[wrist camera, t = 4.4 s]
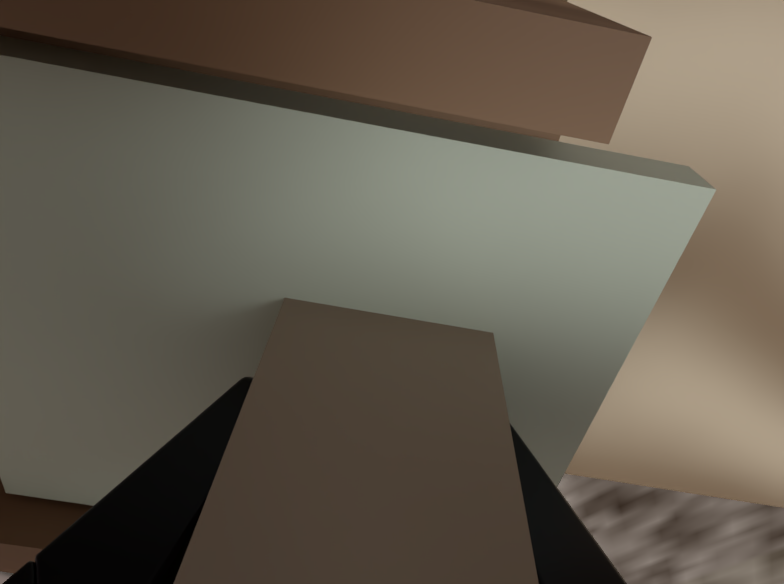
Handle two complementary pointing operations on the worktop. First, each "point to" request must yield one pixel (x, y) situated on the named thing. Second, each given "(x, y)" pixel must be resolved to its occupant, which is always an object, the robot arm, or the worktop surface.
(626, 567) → the worktop surface
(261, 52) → the box
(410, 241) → the lid
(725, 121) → the mat
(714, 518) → the worktop surface
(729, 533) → the worktop surface
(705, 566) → the worktop surface
